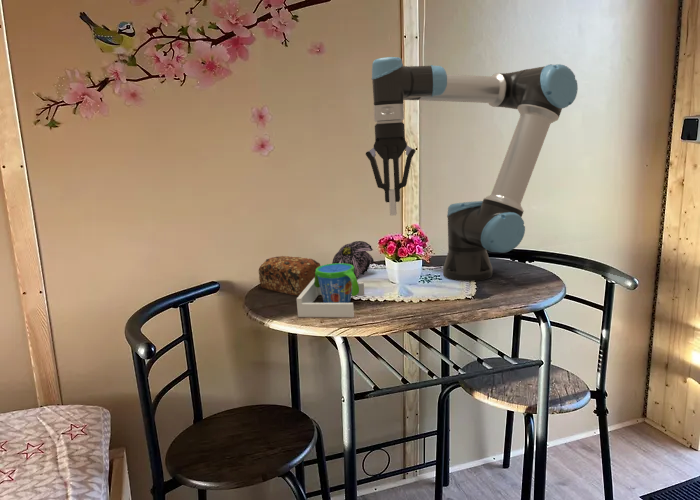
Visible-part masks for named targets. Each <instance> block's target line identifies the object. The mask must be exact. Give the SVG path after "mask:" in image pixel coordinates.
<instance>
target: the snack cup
mask: <svg viewBox="0 0 700 500" xmlns="http://www.w3.org/2000/svg"><path fill="white" fill-rule="evenodd" d="M314 284H315V286H316V287H317V288H318V287H320V289H321V293H322V295H321V297H322V301H323V303H351V299H352V297H355V296H358V295H357V294H358V293H359V286H358V279H356V276H355V274H354V266H353V265H351V264H345V263H335V264H332V263H329V264H328V263H327V264H324V265H320V267H318V268H316V271H315V280H314ZM351 292H352V293H351ZM351 294H352V295H351Z"/></svg>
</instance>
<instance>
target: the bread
mask: <svg viewBox="0 0 700 500" xmlns="http://www.w3.org/2000/svg"><path fill="white" fill-rule="evenodd" d="M320 266H321V263H320V262H318V261H316V260H315V259H313V258H308V257H301V256H286V255H280V256H275V257H274V256H273V257H269V258H267V259H266V260H264V262H262V264H261V265H260V266H259V268H258V275H259V277H258V279H259V284H260V287H261V288H262V289H264V290H265V289H267V290H269V291H273V292H278V293H281V294H282V293H283V294H287V295H291V296H297V297H298V296H299V295H300V294H301V293H302V292H303V290H304V289H305V288H306V287H307V286H308V284H309V283H310V282H311V281H312V280H313V278H315V271H316V268H318V267H320Z"/></svg>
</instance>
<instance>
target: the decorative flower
mask: <svg viewBox="0 0 700 500" xmlns="http://www.w3.org/2000/svg"><path fill="white" fill-rule="evenodd" d="M371 251H374V249H373V247H372V245H370V243H368V242H366V241H363V240H359V241H358V240H357V241H353V242H350V243H347V244H346V243H345V244H344V245H342V246H341V247H340V249H339V250H338V251H337V252H336V253H335V255H334V256H333V259H332V261H331V264H335V263H345V264H351V265H353V266H354V274H355V276H356V279H357V280H358V279H359V277H360V274H361V275H363V276H364V275H365V273H367V272H368V270H369V269H370V268H369V267H370V265H374V258H373V256H372V255H371V254H370V253H369V252H371Z"/></svg>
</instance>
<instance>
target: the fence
mask: <svg viewBox="0 0 700 500" xmlns="http://www.w3.org/2000/svg"><path fill="white" fill-rule="evenodd" d="M314 280H315V278H313V280H312V281H311V282H310V283H309V284H308V286H307V287H306V288H305V289H304V290H303V292H302V293H301V294H300V295H299V296H298V295H297V297H296V308H297V317H298V318H354V317H355V307H354V302H349V303H324V302H315V300H316V299H317V297H319V296H322V293H321V289H320V287H318V288H317V287H316V286H315V284H314ZM357 282H358V281H357ZM364 283H365V282H363V281H362V282H361V281H359V282H358V286H359V293H358V294H357V295H356V296H365V284H364ZM351 293H352V292H351Z"/></svg>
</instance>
